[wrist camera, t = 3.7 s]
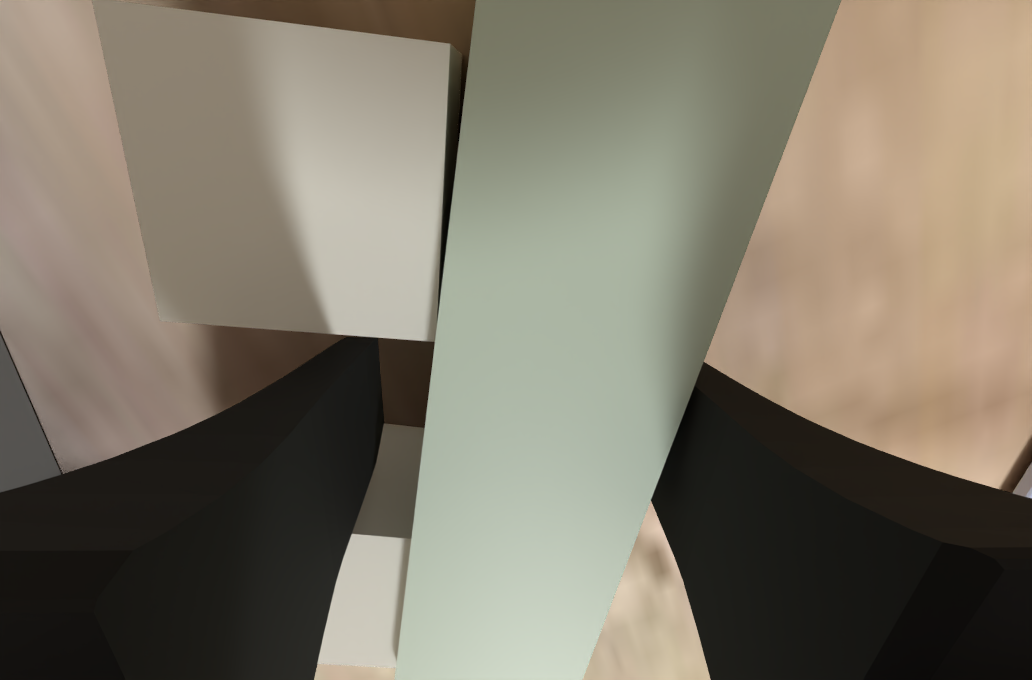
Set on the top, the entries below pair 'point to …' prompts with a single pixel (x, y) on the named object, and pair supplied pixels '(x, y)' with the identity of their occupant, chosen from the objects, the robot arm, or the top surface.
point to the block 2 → (377, 559)
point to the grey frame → (20, 433)
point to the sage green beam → (582, 303)
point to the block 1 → (286, 168)
